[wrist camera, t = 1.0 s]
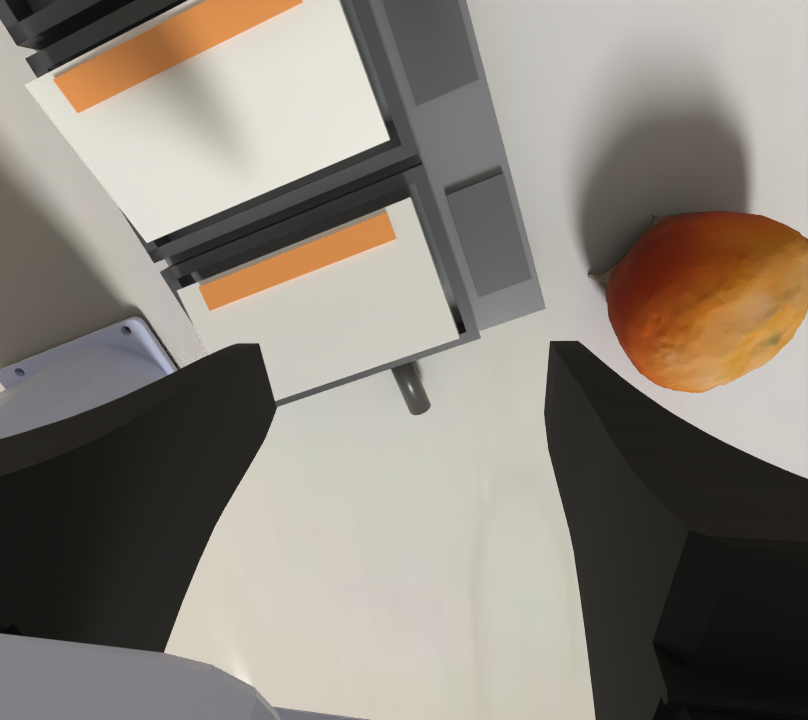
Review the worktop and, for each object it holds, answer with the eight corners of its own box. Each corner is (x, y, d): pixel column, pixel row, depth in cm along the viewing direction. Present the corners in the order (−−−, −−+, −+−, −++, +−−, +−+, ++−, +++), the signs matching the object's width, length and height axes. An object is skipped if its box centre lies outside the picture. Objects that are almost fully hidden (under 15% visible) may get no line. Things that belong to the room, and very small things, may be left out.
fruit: (648, 139, 19) (853, 221, 14) (707, 210, 25) (871, 288, 19) (530, 297, 22) (661, 411, 17) (603, 330, 28) (722, 425, 22)
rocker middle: (159, 228, 19) (145, 244, 18) (48, 79, 15) (21, 86, 14) (388, 130, 17) (390, 141, 16) (319, -61, 14) (314, -67, 13)
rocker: (249, 402, 21) (234, 415, 20) (194, 286, 20) (174, 291, 18) (458, 331, 19) (459, 339, 18) (412, 199, 18) (409, 196, 17)
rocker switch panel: (303, 432, 28) (286, 480, 24) (-55, -182, 16) (-194, -276, 12) (547, 353, 25) (572, 392, 22) (334, -438, 14) (307, -651, 10)
